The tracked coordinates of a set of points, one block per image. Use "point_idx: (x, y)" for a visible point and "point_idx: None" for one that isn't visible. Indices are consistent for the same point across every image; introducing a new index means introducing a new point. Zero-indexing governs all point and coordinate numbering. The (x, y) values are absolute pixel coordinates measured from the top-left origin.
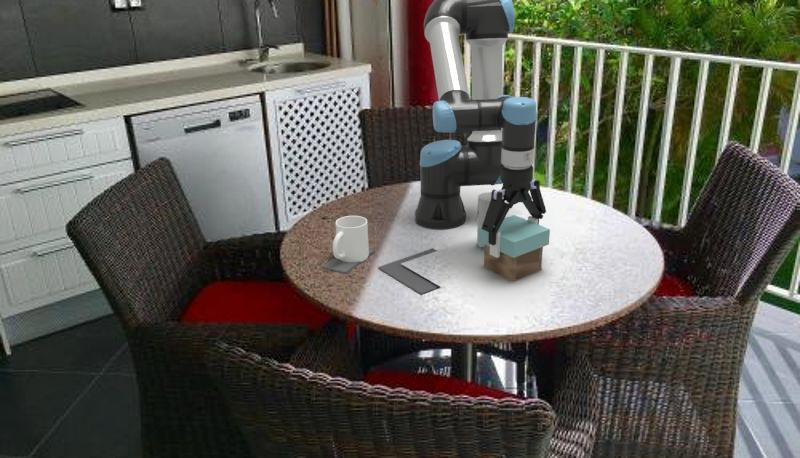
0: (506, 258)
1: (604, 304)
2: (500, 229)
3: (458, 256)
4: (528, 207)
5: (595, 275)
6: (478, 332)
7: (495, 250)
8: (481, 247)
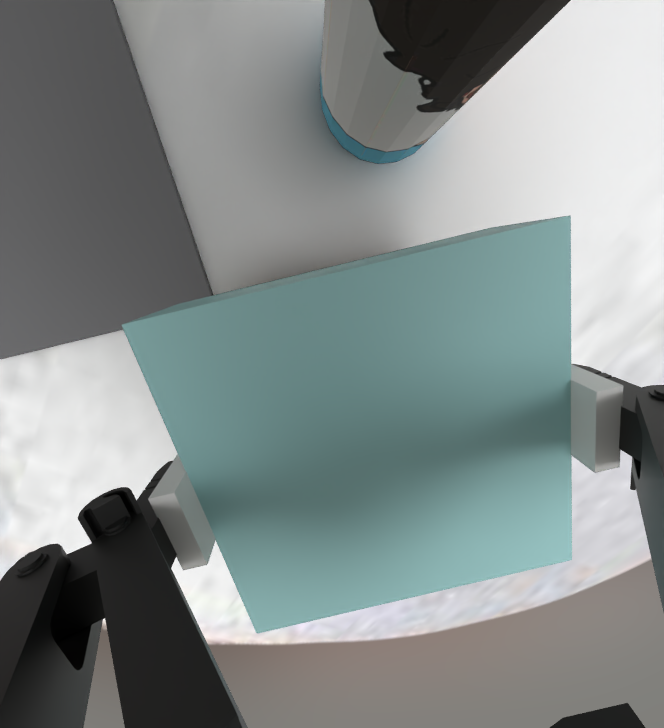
0: None
1: (455, 602)
2: (273, 447)
3: (198, 95)
4: (660, 530)
5: None
6: None
7: None
8: (325, 102)
